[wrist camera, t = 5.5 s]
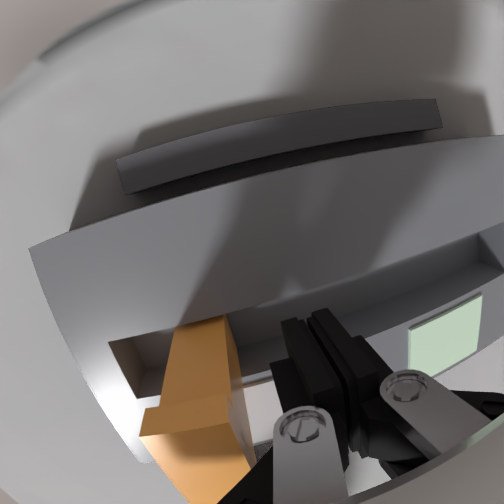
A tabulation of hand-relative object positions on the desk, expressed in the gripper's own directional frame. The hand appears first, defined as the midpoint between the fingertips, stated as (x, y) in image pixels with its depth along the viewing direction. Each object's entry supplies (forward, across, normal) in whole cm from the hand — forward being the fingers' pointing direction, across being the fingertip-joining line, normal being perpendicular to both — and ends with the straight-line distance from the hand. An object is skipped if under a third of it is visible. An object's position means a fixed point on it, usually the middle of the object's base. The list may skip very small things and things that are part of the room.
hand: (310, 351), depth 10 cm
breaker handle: (+4, +4, 0) cm, 5 cm away
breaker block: (+6, -2, 0) cm, 6 cm away
